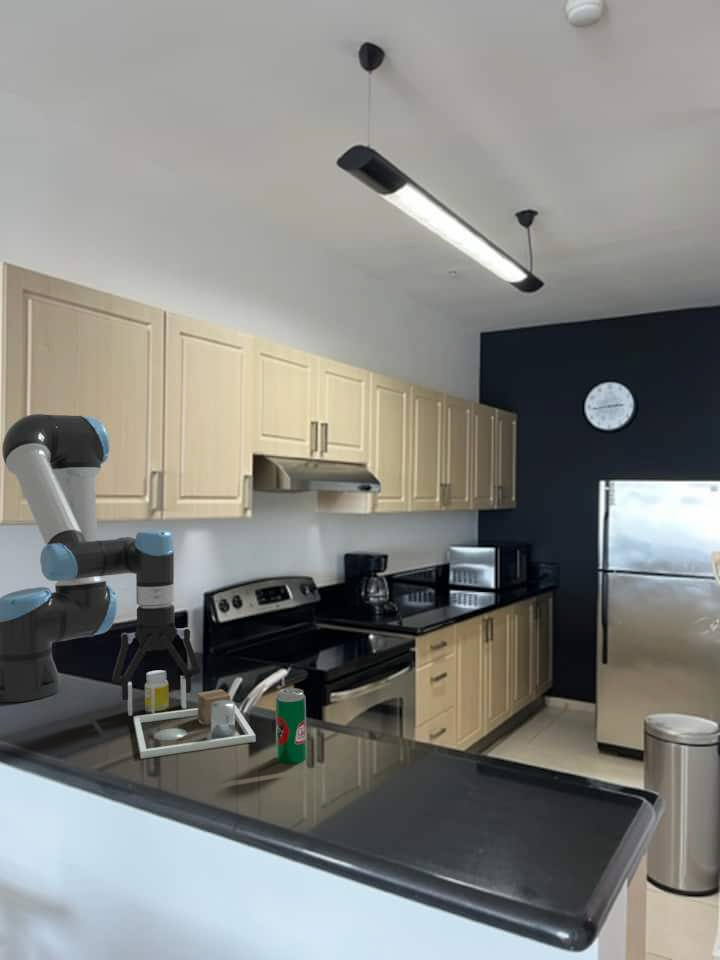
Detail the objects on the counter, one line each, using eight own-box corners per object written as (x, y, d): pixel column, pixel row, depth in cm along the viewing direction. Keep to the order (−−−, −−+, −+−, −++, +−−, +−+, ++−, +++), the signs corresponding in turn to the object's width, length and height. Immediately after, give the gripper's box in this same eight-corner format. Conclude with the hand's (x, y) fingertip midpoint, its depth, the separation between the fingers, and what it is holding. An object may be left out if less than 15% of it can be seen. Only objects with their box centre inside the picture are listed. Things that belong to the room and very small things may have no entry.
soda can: (301, 768, 119) (300, 696, 119) (272, 766, 120) (271, 695, 120) (310, 757, 123) (309, 688, 123) (282, 755, 125) (281, 686, 124)
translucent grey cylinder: (209, 733, 134) (208, 701, 134) (232, 730, 135) (232, 698, 135) (213, 741, 129) (212, 708, 129) (237, 738, 131) (236, 705, 131)
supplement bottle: (172, 709, 150) (171, 669, 150) (164, 717, 146) (163, 675, 146) (150, 709, 151) (149, 669, 151) (141, 716, 146) (140, 675, 146)
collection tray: (133, 725, 141) (133, 716, 141) (234, 712, 148) (234, 703, 148) (140, 762, 122) (140, 751, 122) (255, 745, 129) (255, 735, 129)
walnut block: (197, 718, 143) (197, 693, 142) (221, 713, 145) (221, 689, 145) (206, 725, 138) (205, 699, 138) (230, 720, 141) (230, 695, 141)
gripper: (97, 612, 141) (99, 724, 141) (213, 603, 149) (214, 710, 149) (97, 606, 148) (99, 713, 148) (207, 598, 156) (209, 699, 156)
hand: (157, 711), depth 148 cm, fingers open, 10 cm apart
